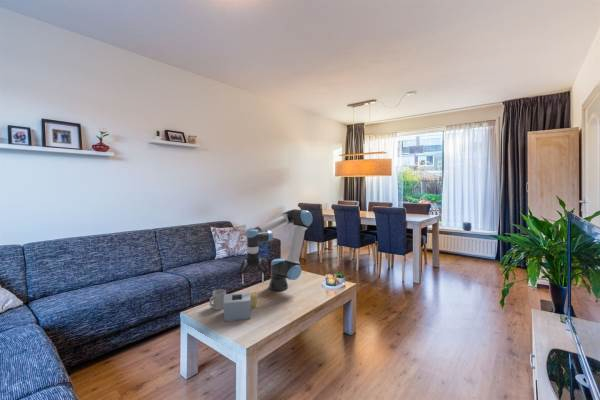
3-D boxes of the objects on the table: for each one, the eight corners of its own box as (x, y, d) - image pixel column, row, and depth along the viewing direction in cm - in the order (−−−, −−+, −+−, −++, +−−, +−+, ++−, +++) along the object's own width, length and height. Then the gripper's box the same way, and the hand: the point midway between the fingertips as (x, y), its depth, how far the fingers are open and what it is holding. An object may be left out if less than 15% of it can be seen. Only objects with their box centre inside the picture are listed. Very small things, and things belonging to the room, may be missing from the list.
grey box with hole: (249, 309, 195) (249, 292, 194) (250, 318, 182) (250, 299, 181) (224, 312, 191) (224, 294, 190) (223, 321, 179) (223, 302, 178)
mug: (220, 303, 205) (220, 288, 204) (228, 306, 200) (228, 291, 199) (205, 309, 195) (205, 293, 194) (214, 313, 190) (214, 296, 189)
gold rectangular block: (255, 303, 205) (255, 292, 204) (256, 307, 199) (256, 295, 198) (250, 304, 204) (250, 293, 203) (250, 307, 198) (250, 296, 197)
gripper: (270, 250, 205) (270, 280, 207) (233, 251, 200) (234, 282, 201) (271, 252, 198) (271, 283, 199) (234, 254, 192) (234, 286, 194)
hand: (252, 283), depth 200 cm, fingers open, 13 cm apart
